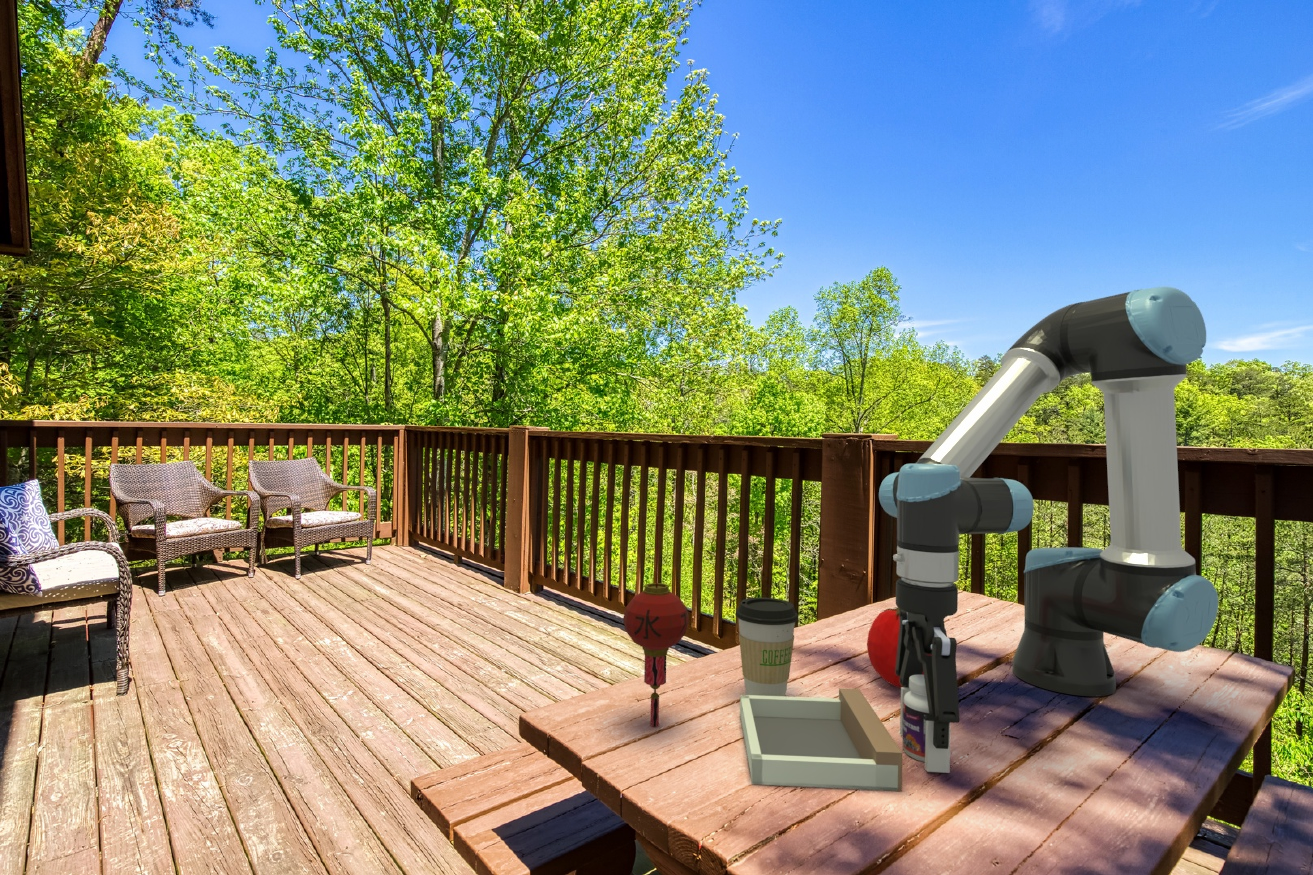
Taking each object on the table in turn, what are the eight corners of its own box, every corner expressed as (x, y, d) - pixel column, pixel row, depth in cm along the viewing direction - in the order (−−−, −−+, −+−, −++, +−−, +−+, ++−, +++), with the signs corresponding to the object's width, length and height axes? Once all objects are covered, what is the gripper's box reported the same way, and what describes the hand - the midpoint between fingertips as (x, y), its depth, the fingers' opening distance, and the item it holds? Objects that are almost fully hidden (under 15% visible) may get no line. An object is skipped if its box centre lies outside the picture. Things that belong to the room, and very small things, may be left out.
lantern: (695, 716, 93) (698, 513, 93) (676, 745, 84) (679, 521, 84) (635, 706, 96) (638, 510, 96) (611, 733, 87) (614, 517, 87)
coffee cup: (797, 714, 94) (799, 614, 94) (731, 707, 96) (733, 609, 96) (796, 689, 104) (797, 598, 104) (736, 683, 106) (737, 594, 106)
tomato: (868, 694, 102) (869, 613, 102) (864, 668, 114) (865, 595, 114) (946, 703, 99) (947, 619, 99) (933, 675, 111) (934, 600, 111)
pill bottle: (895, 744, 85) (896, 672, 85) (933, 743, 86) (934, 671, 86) (915, 764, 80) (916, 688, 80) (955, 763, 80) (956, 687, 80)
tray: (859, 719, 93) (859, 689, 93) (901, 791, 74) (902, 752, 74) (739, 714, 94) (740, 684, 94) (751, 784, 75) (752, 746, 75)
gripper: (874, 563, 94) (871, 715, 94) (927, 599, 72) (924, 796, 72) (925, 565, 93) (922, 717, 93) (994, 602, 72) (991, 799, 72)
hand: (923, 751), depth 83 cm, fingers open, 9 cm apart
